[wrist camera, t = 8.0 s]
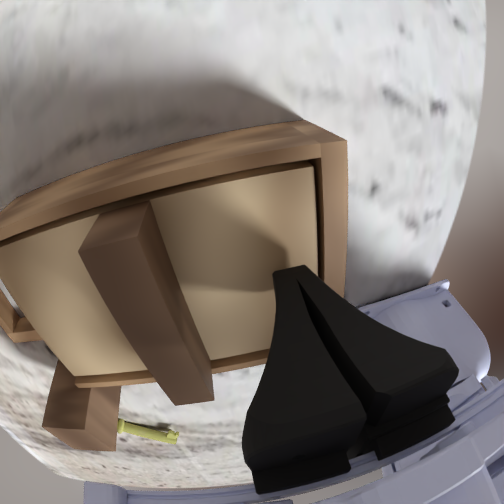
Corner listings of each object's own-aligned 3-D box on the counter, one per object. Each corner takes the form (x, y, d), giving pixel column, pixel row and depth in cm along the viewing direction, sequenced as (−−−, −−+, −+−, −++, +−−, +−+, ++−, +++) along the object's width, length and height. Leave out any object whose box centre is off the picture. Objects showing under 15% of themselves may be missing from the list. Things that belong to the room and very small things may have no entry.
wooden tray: (304, 119, 13) (346, 140, 9) (314, 291, 19) (339, 344, 16) (-41, 227, 12) (-77, 267, 8) (31, 342, 18) (16, 387, 14)
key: (180, 430, 29) (181, 445, 28) (82, 421, 27) (80, 436, 25) (175, 402, 26) (175, 421, 24) (61, 392, 23) (58, 408, 22)
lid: (306, 160, 11) (343, 193, 8) (313, 325, 16) (332, 373, 13) (-7, 243, 10) (-40, 286, 7) (76, 365, 15) (67, 410, 12)
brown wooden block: (99, 347, 19) (84, 429, 14) (122, 376, 22) (115, 451, 16) (60, 352, 19) (41, 426, 13) (85, 379, 22) (74, 448, 16)
